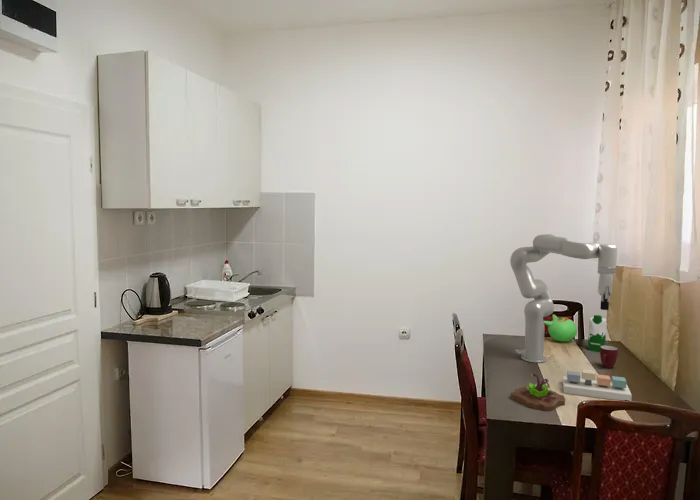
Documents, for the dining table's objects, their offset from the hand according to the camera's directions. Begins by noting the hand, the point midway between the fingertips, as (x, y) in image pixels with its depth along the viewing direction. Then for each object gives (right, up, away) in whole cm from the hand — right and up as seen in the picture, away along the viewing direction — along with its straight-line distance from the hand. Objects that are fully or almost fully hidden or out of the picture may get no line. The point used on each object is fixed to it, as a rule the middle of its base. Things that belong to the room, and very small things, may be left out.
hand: (604, 309), depth 233 cm
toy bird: (+8, -27, +67) cm, 73 cm away
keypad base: (-11, -35, -14) cm, 39 cm away
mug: (+11, -32, +18) cm, 38 cm away
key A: (-20, -33, -11) cm, 40 cm away
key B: (-14, -31, -13) cm, 37 cm away
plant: (-40, -36, -23) cm, 59 cm away
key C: (-8, -33, -15) cm, 37 cm away
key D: (-3, -34, -17) cm, 38 cm away
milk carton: (+20, -29, +49) cm, 60 cm away
